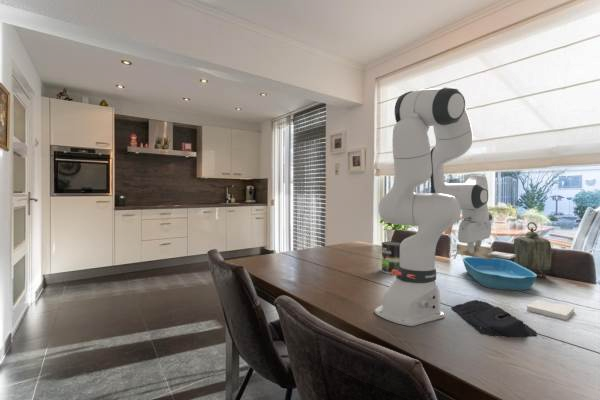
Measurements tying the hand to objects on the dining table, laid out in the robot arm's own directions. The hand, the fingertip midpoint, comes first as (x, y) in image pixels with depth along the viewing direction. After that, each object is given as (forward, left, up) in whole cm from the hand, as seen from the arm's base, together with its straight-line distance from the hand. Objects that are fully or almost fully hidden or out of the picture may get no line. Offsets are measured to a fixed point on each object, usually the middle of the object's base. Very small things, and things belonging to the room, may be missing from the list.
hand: (474, 252), depth 120 cm
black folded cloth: (-24, -15, -17) cm, 33 cm away
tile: (0, -19, -15) cm, 24 cm away
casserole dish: (+25, +2, -16) cm, 30 cm away
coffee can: (+2, +39, -16) cm, 42 cm away
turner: (0, -4, -2) cm, 4 cm away
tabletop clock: (+48, -5, -16) cm, 51 cm away
